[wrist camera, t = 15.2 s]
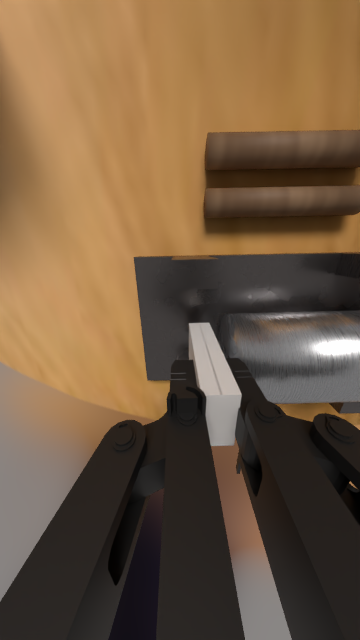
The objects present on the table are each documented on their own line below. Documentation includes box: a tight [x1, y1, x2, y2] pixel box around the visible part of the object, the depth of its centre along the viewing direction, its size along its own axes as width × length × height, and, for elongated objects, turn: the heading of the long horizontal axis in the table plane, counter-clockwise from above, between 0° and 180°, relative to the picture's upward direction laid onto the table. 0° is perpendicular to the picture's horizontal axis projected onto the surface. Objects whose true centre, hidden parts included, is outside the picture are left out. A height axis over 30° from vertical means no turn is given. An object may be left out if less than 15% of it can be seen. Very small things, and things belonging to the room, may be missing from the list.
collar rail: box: [134, 252, 360, 414], centre depth 11 cm, size 11×28×10 cm, turn 91°
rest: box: [204, 130, 360, 218], centre depth 11 cm, size 10×4×2 cm, turn 91°
